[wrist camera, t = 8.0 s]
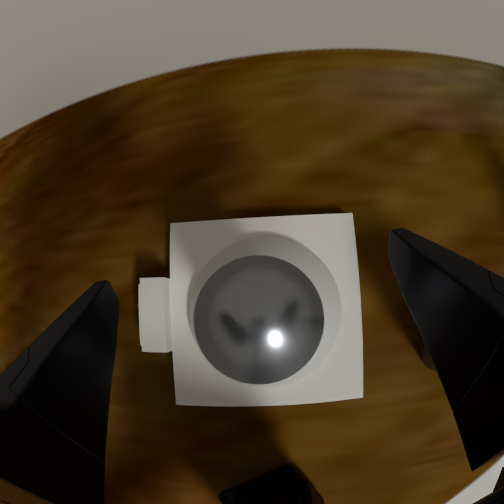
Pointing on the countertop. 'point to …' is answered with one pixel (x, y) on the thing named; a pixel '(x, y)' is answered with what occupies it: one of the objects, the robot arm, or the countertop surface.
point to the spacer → (258, 319)
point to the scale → (269, 244)
